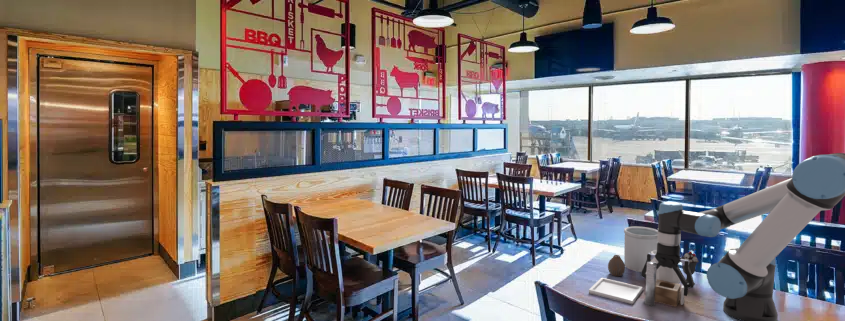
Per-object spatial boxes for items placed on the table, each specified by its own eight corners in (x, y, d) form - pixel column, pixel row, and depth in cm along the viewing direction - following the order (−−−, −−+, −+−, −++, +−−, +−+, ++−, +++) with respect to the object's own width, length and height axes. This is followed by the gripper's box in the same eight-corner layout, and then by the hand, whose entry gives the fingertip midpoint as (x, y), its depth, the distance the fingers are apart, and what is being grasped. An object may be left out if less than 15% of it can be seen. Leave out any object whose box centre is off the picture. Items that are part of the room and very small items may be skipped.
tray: (642, 290, 169) (642, 286, 168) (632, 304, 156) (632, 300, 156) (601, 280, 179) (601, 277, 179) (588, 293, 167) (588, 289, 166)
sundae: (701, 284, 174) (703, 249, 172) (690, 287, 171) (692, 251, 170) (686, 278, 180) (688, 245, 178) (675, 281, 177) (677, 247, 176)
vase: (604, 273, 187) (604, 254, 186) (615, 270, 190) (615, 252, 189) (617, 278, 181) (617, 259, 180) (628, 276, 184) (629, 256, 183)
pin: (655, 304, 156) (657, 263, 155) (653, 307, 154) (655, 265, 152) (645, 301, 158) (648, 261, 157) (643, 304, 156) (646, 263, 154)
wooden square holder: (679, 299, 160) (680, 284, 160) (676, 306, 154) (677, 291, 153) (656, 293, 165) (657, 279, 165) (652, 300, 159) (652, 285, 159)
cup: (636, 283, 176) (637, 251, 174) (656, 277, 182) (658, 246, 180) (667, 295, 164) (669, 261, 162) (687, 288, 170) (689, 255, 169)
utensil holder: (645, 275, 184) (647, 237, 182) (615, 265, 197) (617, 229, 195) (665, 269, 191) (667, 232, 189) (635, 259, 204) (637, 224, 202)
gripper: (706, 246, 153) (702, 304, 155) (637, 235, 168) (635, 288, 170) (703, 251, 147) (699, 311, 150) (633, 239, 162) (630, 294, 164)
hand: (665, 299), depth 160 cm, fingers open, 10 cm apart
